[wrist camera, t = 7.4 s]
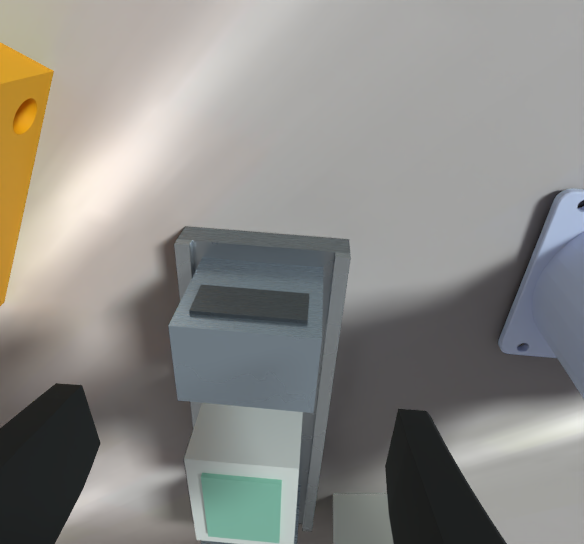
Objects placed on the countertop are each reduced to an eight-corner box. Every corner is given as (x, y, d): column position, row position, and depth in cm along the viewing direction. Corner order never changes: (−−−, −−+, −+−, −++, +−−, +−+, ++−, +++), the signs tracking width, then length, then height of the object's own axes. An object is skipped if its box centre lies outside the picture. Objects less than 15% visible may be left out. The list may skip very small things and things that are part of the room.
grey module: (305, 375, 21) (298, 473, 17) (299, 453, 24) (293, 553, 20) (209, 367, 21) (177, 463, 17) (216, 446, 24) (191, 543, 20)
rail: (349, 239, 18) (356, 323, 14) (312, 506, 29) (309, 608, 24) (185, 226, 19) (135, 304, 14) (208, 496, 29) (184, 594, 24)
